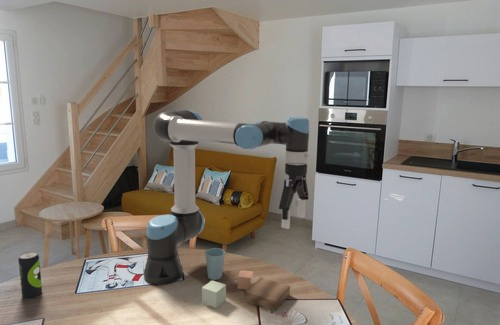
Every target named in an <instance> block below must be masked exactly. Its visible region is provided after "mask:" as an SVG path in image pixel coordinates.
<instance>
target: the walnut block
mask: <svg viewBox="0 0 500 325" xmlns="http://www.w3.org/2000/svg"><path fill="white" fill-rule="evenodd" d="M290 292H291V285H288V284H284V283H281V282H278V281H274V280H272V279H267V278H264V277H260V278H258V280H257V281H255V282H253V285H252V286H251V287H250V288H249V289H247V290H245V291H244V302H246V303H248V304H249V303H250V304H252V305H256V306H257V307H261V308H265V309H267V310H271V311H274V312H276V311H277V310H278V309H279V308H280V307H281V305H283V304H284V302H285V301H286V300H287V298H289V297H290V294H291V293H290Z"/></svg>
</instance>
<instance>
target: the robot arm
mask: <svg viewBox="0 0 500 325" xmlns="http://www.w3.org/2000/svg"><path fill="white" fill-rule="evenodd" d="M152 129H153V130H152V131H153V133H154V135H155V136H156V138H158V139H159V140H160V141H163V142H166V143H169V145H170V146H171V147H172V149H173V184H174V185H173V188H174V191H173V193H174V195H173V196H174V199H173V200H174V204H173V206H172V207H171V208H170V214H162V215H157V216H154V217H153V218H151V219H150V220H149V221H148V222H147V225H146V243H147V260H146V261H145V262H146V263H145V266H144V269H143V278H144V281H145V282H147V283H150V284H153V285H167V284H171V283H175V282H176V281H178V280H180V279H181V278H182V277H183V273H184V272H183V265H182V264H181V260H180V257H179V245H182V244H183V243H185V242H186V241H189V240H191V239H193V238H195V237H197V236H198V235H200V234H201V232H203V229H204V227H205V217H204V215H203V213H202V212H201V211H200V207H199V206H198V205H197V204H196V147H198V145H199V143H207V144H208V143H209V144H216V145H217V144H218V145H229V146H236V147H240V148H242V149H244V150H254V149H256V148H260V147H264V146H267V145H271V144H273V145H282V146H283V145H285V154H284V155H285V157H284V162H285V164H284V174H285V175H286V176H287V175H288V179H284V181H283V187H282V188H283V189H282V192H281V195H280V196H281V197H280V202H279V206H278V209H279V210H281V224H280V225H281V228H282V229H287V230H289V229H290V228H291V209H290V208H291V205H292V202H293V199H294V196H295V194H297V196H298V199H297V211H296V212H297V215H296V217H299V218H305V217H306V203H307V202H306V200H307V201H308V200H309V190H308V184H307V183H308V182H307V174H308V164H307V163H308V158H309V157H310V155H309V139H310V120H309V118H307V117H298V116H297V117H296V116H293V117H287V119H286V122H279V121H278V122H277V121H268V120H262V121H261V120H260V121H257V122H255V123H245V122H244V123H243V122H242V123H241V122H230V121H228V122H226V121H215V120H214V121H213V120H203V118H202V116H201V115H200V114H199V113H197V112H196V111H194V110H187V109H181V110H167V111H163V112H160V113H159V114H158V115H156V117H155V118H154V121H153V123H152Z"/></svg>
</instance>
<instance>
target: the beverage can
mask: <svg viewBox="0 0 500 325" xmlns="http://www.w3.org/2000/svg"><path fill="white" fill-rule="evenodd" d="M18 268H19V269H18V270H19V278H20V279H19V280H20V289H21V295H22V296H23V297H24V298H26V299H28V298H35V297H37V296H39V295H40V294H41V293H42V291H43V287H42V286H43V284H42V275H41V274H42V272H41V263H40V255H39V253H38V252H37V251H35V250H33V251H26V252H23V253H21V254H19V255H18Z"/></svg>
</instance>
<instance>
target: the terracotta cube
mask: <svg viewBox="0 0 500 325" xmlns="http://www.w3.org/2000/svg"><path fill="white" fill-rule="evenodd" d="M253 284H254V271H251V270H250V271H249V270H248V271H247V270H241V269H240V271H239V273H238V275H237V289H238V290H245V291H246V290H247V289H249V288H250V287H251V286H252V285H253Z"/></svg>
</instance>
